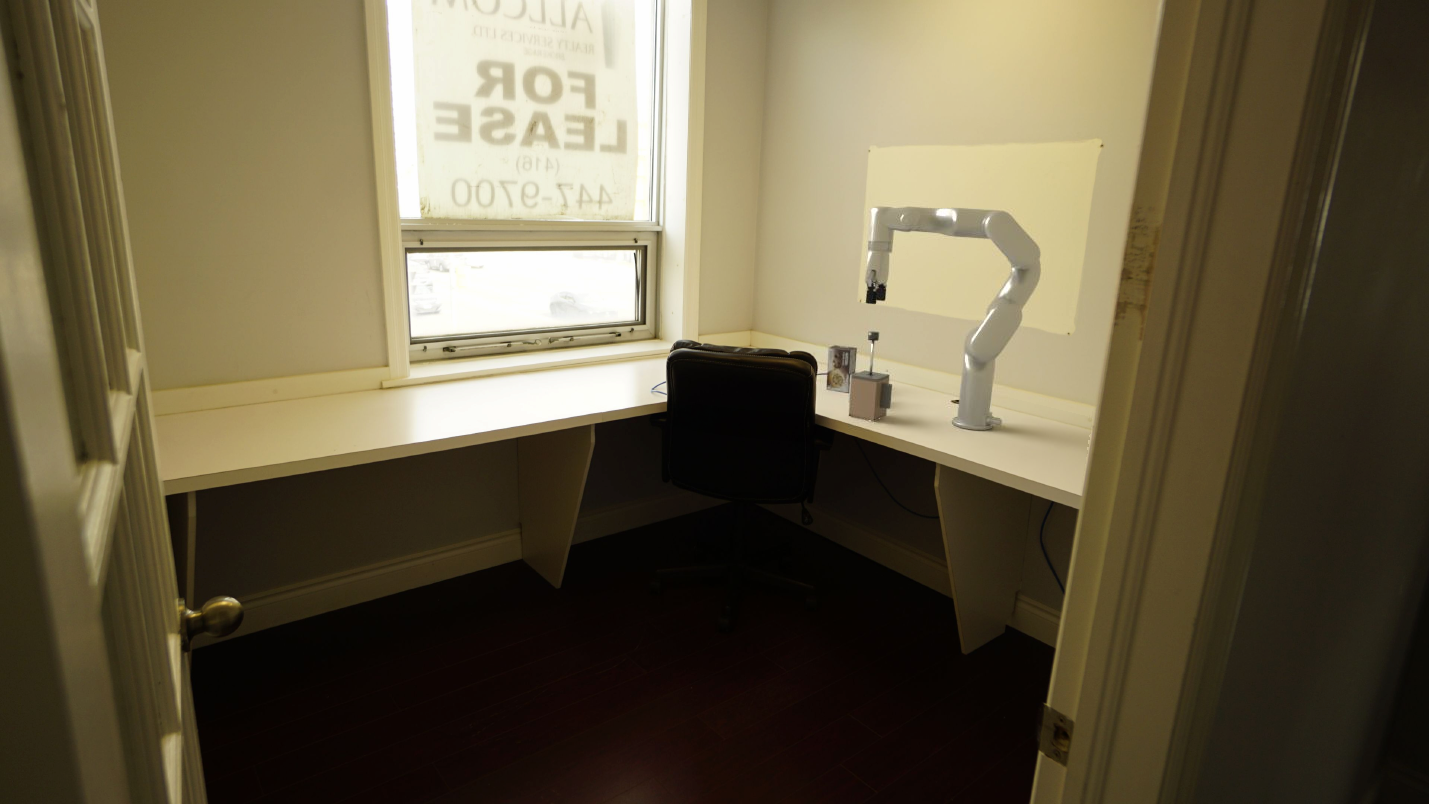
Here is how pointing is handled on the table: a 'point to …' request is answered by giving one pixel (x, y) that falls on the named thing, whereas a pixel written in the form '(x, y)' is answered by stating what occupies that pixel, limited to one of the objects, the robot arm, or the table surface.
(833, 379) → the coffee box
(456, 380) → the table surface
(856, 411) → the tan lever base
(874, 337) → the lever with black knob
